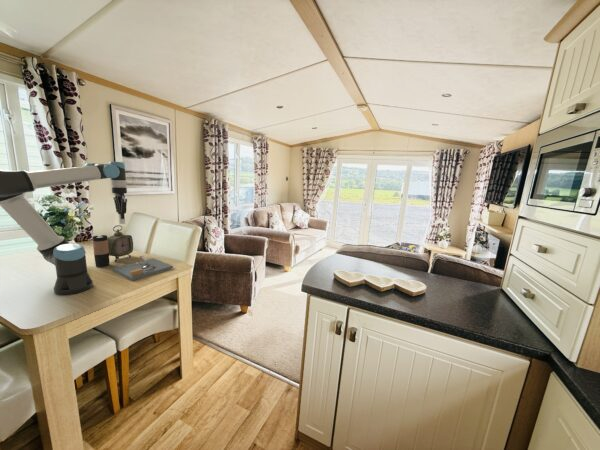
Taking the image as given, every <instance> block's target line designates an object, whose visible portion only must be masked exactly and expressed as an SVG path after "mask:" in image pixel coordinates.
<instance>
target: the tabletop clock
mask: <svg viewBox="0 0 600 450" xmlns="http://www.w3.org/2000/svg"><path fill="white" fill-rule="evenodd" d="M117 227H121V228H120V229H116V230H115V228H117ZM112 230H113V232H114V233H113V235H110V236H107V239H108V248H109V257H111V256H112V257H115V260H114V262H115V263H117V262H118V259H119V260H120V257H124V256H128V257H129V258H131V257H132V255H131V254H132V253H133V251H134V241H133V240H134V239H133V236H132V235H129V234H123V232H122V230H123V226H122V225H121V224H119V225H115V226H114V227H112Z"/></svg>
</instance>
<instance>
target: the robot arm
mask: <svg viewBox="0 0 600 450" xmlns="http://www.w3.org/2000/svg"><path fill="white" fill-rule="evenodd" d="M103 179H105V180H106V179H110V184H111V193H112V194H115V195H114V197H113V198H112V199H113V200H114V206H115V210H116V211H115V212H116V213H117V214H118V224H119V225H125V224H126V218H125V214H127V203H128V198H126V196H125V195H126V194H127V193H128V191H127V190H128V189H127V182H128V181H127V177H126V165H125V163H124V162H123V161H113V160H112V161H109V163H92V162H87V163H85V164H84V165H83V166H77V167H76V166H75V167H74V166H73V167H66V168H55V169H47V170H36V171H27V170H24V169H23V170H2V169H0V207H1V208H2V209H3V211H5V212H6V213H7V214H8V215H9V216H10V217H11V219H13V221H14V222H15V223H16V224H17V225H18V226H20V228H21V229H22V230H23V231H24V232H25V233H26V234H27V235H28V236H29V237H30V238H31V239H32V240H33V241H34V242H35V243H36V244H37V247H36V250H37V251H38V252H39V253H40V254H41V255H42V257H43V259H44V260H45V261H46V262H47V263H50V264H52V265H54V266H55V273H56V280H55V283H54V286H53V293H54V294H55V295H58V296H68V295H74V294H78V293H83V292H85V291H87V290H90V289H91V288H92V287H94V281H93V279H92V278H91V276H90V275H89V273H88V267H87V257H86V253H87V252H86V249H85V247H84V246H83V244H78V243H70V242H69V241H68V240H67V239H66V238H65V237H64V236H62V235H59V234H57V233H56V231H55V230H54V229H53V228H52V227H51V226H50V224H49V223H47V221H46V220H45V219H44V218H43V217H42V215H41V214H40V213H39V212H38V210H36V209H35V208H34V206H33V205H32V204H31V203H30V202H29V201H28V200H27V198H26V197H25V194H26V193H31V192H35V191H36V190H37V189H42V188H50V187H56V186H63V185H70V184H76V183H84V182H89V181H90V182H91V181H96V180H103Z"/></svg>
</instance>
